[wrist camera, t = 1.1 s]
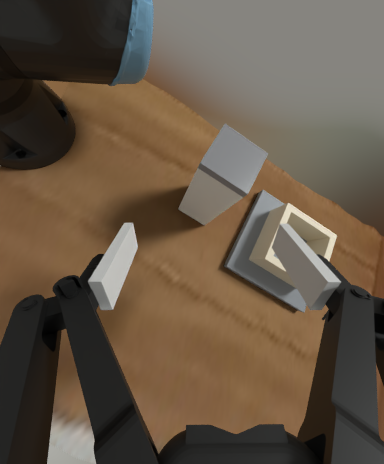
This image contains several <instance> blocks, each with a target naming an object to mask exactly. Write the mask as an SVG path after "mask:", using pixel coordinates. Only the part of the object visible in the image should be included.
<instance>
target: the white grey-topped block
mask: <svg viewBox="0 0 384 464" xmlns="http://www.w3.org/2000/svg"><path fill="white" fill-rule="evenodd" d="M267 155H268V153H267V152H265V151H264V150H262V149H261V148H259V147H258V146H257V145H255V144H254V143H252V142H251V141H250V140H248V139H247V138H245V137H244V136H242V135H241V134H239V133H238V132H237V131H235V130H234V129H232V128H231V127H229V126H228V125H227V124H224V126H223V127H222V129H221V131H220V132H219V134H218V135H217V137H216V139H215V140H214V142H213V143H212V145H211V146H210V148H209V150H208V151H207V153H206V154H205V156H204V158H203V159H202V161H201V162H200V164H199V166H198V168H197V171H196V173H195V175H194V177H193V179H192V181H191V183H190V185H189V187H188V189H187V191H186V193H185V195H184V198H183V200H182V202H181V204H180V206H179V208H178V210H180V211H182V212H183V213H185V214H186V215H188V216H190V217H191V218H193V219H195V220H196V221H198V222H199V223H201V224H203V225H206V224H207V223H209V222H210V221H211V220H213V219H214V218H216V217H217V216H218V215H220V214H221V213H222V212H224V211H225V210H227V209H228V208H229V207H231V206H232V205H233V204H235V203H236V202H238V201H239V200H240V199H242V198H243V197H244V196H246V195H247V194H248V193H249V191H250V189H251V187H252V185H253V183H254V181H255V179H256V177H257V175H258V173H259V171H260V169H261V167H262V165H263V163H264V161H265V159H266V156H267Z"/></svg>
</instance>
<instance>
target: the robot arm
mask: <svg viewBox="0 0 384 464" xmlns="http://www.w3.org/2000/svg"><path fill="white" fill-rule="evenodd" d="M152 32H153V3H152V0H0V165H1V166H5V167H8V168H14V169H35V168H40V167H44V166H47V165H49V164H52V163H54V162H56V161H57V160H59V159H60V158H61V157H63V156H64V155H65V154H66V153H67V152H68V150H69V149H70V148H71V146H72V144H73V141H74V138H75V124H74V121H73V118H72V116H71V114H70V112H69V111H68V109H67V107H66V105H65V104H64V102H63V101H62V100H61V99H60V97H59V96H58V95H57V94H55V92H54V91H53V90H52V89H50V87H49V86H47V85H46V84H45V83H44V82H43V81H42V80H47V81H63V82H78V83H93V84H108V85H109V86H112V85H113V86H115V85H116V84H135V83H138V82H139V81H141V80H142V79H143V78H144V76H145V74H146V72H147V69H148V65H149V60H150V52H151V45H152ZM137 248H138V245H137V240H136V235H135V230H134V225H133V223H124V224H123V226H122V227H121V229H120V231H119V232H118V234H117V235H116V237H115V239H114V240H113V242H112V243H111V245H110V247H109V248H108V250H107V252H106V253H105V254H98V255H97V256H95V257H94V258H93V259H92V260H91V262H90V263H89V265H88V266H87V268H86V269H85V270H84V272H83V273H82V275H81V276H80V278H79V277H78V276H75V275H71V276H67V277H64V278H62V279H60V280H59V281H58V282H56V283H55V285H54V286H53V292H54V293H55V295H56V296H55V297H51V298H47V299H44V297H43V296H41V295H32V296H29V297H27V298H25V299H23V300H22V301H20V302H19V303H18V304H17V305H16V307H15V308H14V310H13V313H12V315H11V318H10V321H9V324H8V326H7V329H6V332H5V334H4V337H3V340H2V343H1V345H0V464H47V457H48V449H49V440H50V431H51V422H52V413H53V403H54V394H55V385H56V376H57V367H58V358H59V349H60V340H61V330H63V329H67V333H68V337H69V341H70V345H71V349H72V353H73V356H74V360H75V364H76V368H77V372H78V376H79V380H80V383H81V387H82V391H83V395H84V399H85V403H86V407H87V410H88V414H89V418H90V422H91V426H92V430H93V434H94V439H95V442H94V454H95V459H96V464H384V442H383V441H382V440H381V439H380V436H379V432H378V408H377V381H376V364H377V367H378V370H379V373H380V376H381V379H382V382H383V385H384V299H382V298H378V297H374V296H371V295H370V293H368V292H367V291H366V290H364V289H362V288H360V287H358V286H355V285H351V284H350V283H349V282H348V281H347V280H346V279H345V278H344V277H343V276H342V275H341V274H340V273H339V271H338V270H336V268H335V267H334V266H333V265H332V264H331V263H330V262H329V261H328V260H327V259H326V258H324V257H323V256H321V255H320V254H315V253H314V252H313V250H312V249H311V248H310V247H309V246H308V245H307V244H306V243H305V242H304V241H303V239H302V238H301V237H300V236H299V235H298V234H297V233H296V232H295V231H294V229H293V228H292V227H291V226H290V225H289V224H279V227H278V230H277V233H276V236H275V239H274V242H273V245H272V249H273V251H274V252H275V254H276V255H277V257H278V259H279V260H280V262H281V264H282V265H283V267H284V268H285V270H286V272H287V273H288V275H289V277H290V278H291V280H292V281H293V283H294V285H295V286H296V288H297V290H298V291H299V293H300V294H301V296H302V298H303V299H304V301H305V303H306V304H307V306H308V307H309V309H310V310H322V308H323V307H324V306H325V304H326V306H327V307H328V308H329V310H328V311H327V313H326V314H325V315H324V317H323V318H322V320H324V319H325V318H326V319H325V323H324V328H323V333H322V338H321V343H320V348H319V353H318V358H317V362H316V367H315V372H314V377H313V382H312V387H311V392H310V396H309V401H308V406H307V411H306V416H305V419H304V422H303V424H302V426H301V428H300V430H299V433H298V437H295V436H294V435H292V434H290V433H288V432H286V431H285V429H284V425H283V424H264V425H257V426H255V427H253V428H251V429H248V430H246V431H244V432H241V433H239V434H233V433H230V432H228V431H225V430H222V429H220V428H217V427H214V426H212V425H186V430H185V431H182V432H180V433H179V434H177V435H176V436H174V437H173V438H172V439H171V440H170V441H169V442H168V443H167V444H166V445H165V446H164V447H163V449H162V450H161V452H160V453H159V454H158V451H157V449H156V447H155V444H154V442H153V440H152V437H151V435H150V433H149V431H148V429H147V426H146V424H145V422H144V420H143V418H142V415H141V413H140V411H139V409H138V406H137V404H136V402H135V399H134V397H133V395H132V392H131V390H130V388H129V386H128V383H127V381H126V379H125V376H124V374H123V372H122V369H121V367H120V365H119V362H118V360H117V358H116V356H115V353H114V351H113V349H112V346H111V344H110V342H109V339H108V337H107V335H106V332H105V330H104V328H103V326H102V323H101V321H100V319H99V316H98V314H97V312H96V309H97V307H98V305H99V306H100V309H101V310H113V308H114V306H115V303H116V301H117V298H118V296H119V293H120V291H121V288H122V286H123V283H124V281H125V278H126V276H127V273H128V271H129V268H130V266H131V263H132V261H133V258H134V256H135V253H136V251H137Z"/></svg>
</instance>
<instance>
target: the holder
mask: <svg viewBox="0 0 384 464" xmlns="http://www.w3.org/2000/svg"><path fill="white" fill-rule="evenodd" d="M279 224H289V225H290V226H291V227H292V228H293V229H294V231H295V232H296V233H297V234H298V235H299V236H300V237H301V238H302V239H303V241H304V242H305V243H306V244H307V245H308V246H309V247H310V248H311V249H312V250H313V252H314V253H315V254H320V255H321V256H323V257H324V258H326V259H327V260H328V261H329V260H330V257H331V254H332V250H333V247H334V244H335V241H336V237H337V235H336V234H334V233H333V232H331V231H330V230H328V229H327V228H325V227H324V226H322V225H321V224H319V223H318V222H316V221H315V220H313V219H312V218H310V217H309V216H307V215H306V214H304V213H303V212H301V211H300V210H298V209H297V208H295V207H294V206H292V205H291V204H289V203H287V204H284V203H282V202H281V201H279V200H278V199H276V198H275V197H273V196H272V195H270V194H269V193H267V192H266V191H264V190H262V191H261V192H259V194H258V196H257V198H256V200H255V202H254V204H253V206H252V208H251V210H250V212H249V214H248V216H247V218H246V221H245V223H244V225H243V227H242V229H241V231H240V233H239V235H238V237H237V239H236V241H235V243H234V245H233V248H232V250H231V252H230V254H229V256H228V258H227V260H226V262H225V264H224V267H226V268H227V269H229V270H231V271H232V272H234V273H236V274H237V275H239V276H241V277H242V278H244V279H246V280H247V281H249V282H251V283H252V284H254V285H256V286H257V287H259V288H261V289H263V290H264V291H266V292H268V293H269V294H271V295H273V296H274V297H276V298H278V299H279V300H281V301H283V302H284V303H286V304H288V305H289V306H291V307H293V308H295V309H296V310H298V311H301V312H304V311H305V308H306V305H307V304H306V303H305V301H304V299H303V298H302V296H301V294H300V293H299V291H298V290H297V288H296V286H295V285H294V283H293V281H292V280H291V278H290V277H289V275H288V273H287V272H286V270H285V268H284V267H283V265H282V264H281V262H280V260H279V259H278V257H277V255H276V254H275V252H274V251H273V249H272V245H273V242H274V239H275V236H276V233H277V230H278V227H279Z"/></svg>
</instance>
